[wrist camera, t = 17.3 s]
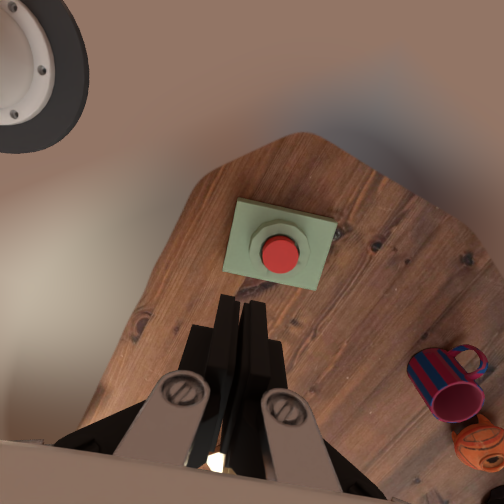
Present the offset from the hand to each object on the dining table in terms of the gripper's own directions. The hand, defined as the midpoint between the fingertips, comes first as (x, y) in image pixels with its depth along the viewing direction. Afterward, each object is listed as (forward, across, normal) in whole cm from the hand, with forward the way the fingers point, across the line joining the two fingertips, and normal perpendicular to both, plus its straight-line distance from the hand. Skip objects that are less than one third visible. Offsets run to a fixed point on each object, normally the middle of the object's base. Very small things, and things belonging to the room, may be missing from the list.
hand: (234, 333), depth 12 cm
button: (+26, -5, +5) cm, 26 cm away
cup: (+29, -32, +17) cm, 47 cm away
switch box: (+29, -5, +5) cm, 30 cm away
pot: (+29, -42, +28) cm, 58 cm away
